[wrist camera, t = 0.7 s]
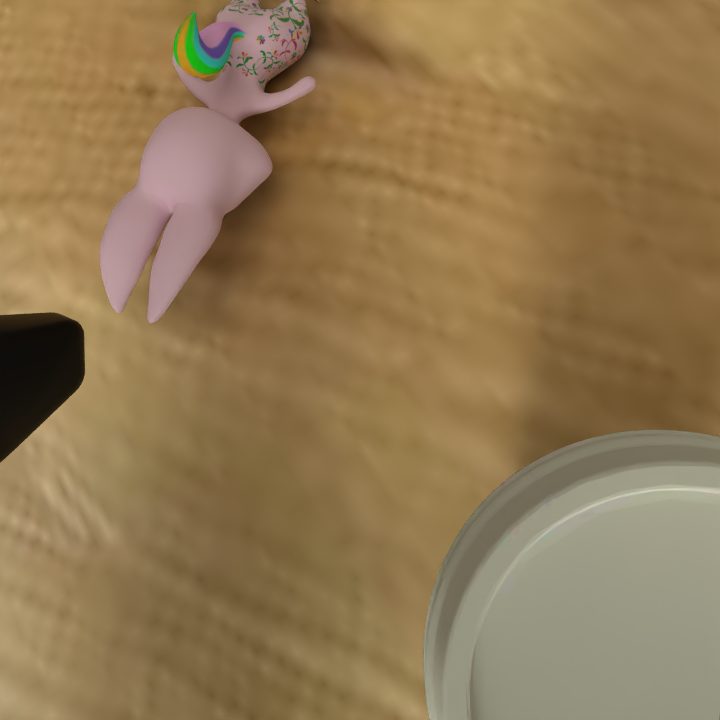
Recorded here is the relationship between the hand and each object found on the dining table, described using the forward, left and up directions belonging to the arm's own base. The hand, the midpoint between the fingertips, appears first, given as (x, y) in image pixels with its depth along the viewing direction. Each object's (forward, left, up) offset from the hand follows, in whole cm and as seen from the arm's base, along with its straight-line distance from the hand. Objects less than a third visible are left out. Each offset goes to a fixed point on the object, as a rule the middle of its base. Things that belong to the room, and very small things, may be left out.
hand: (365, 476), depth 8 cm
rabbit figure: (+12, +9, -15) cm, 22 cm away
